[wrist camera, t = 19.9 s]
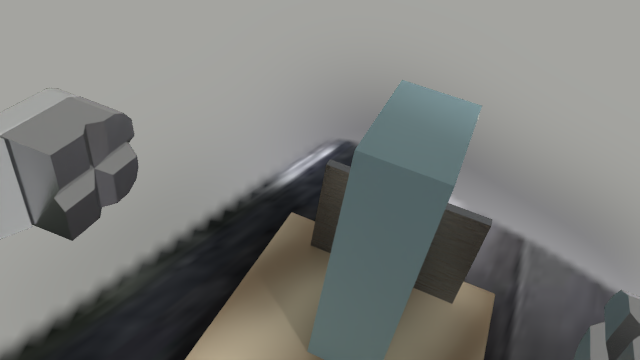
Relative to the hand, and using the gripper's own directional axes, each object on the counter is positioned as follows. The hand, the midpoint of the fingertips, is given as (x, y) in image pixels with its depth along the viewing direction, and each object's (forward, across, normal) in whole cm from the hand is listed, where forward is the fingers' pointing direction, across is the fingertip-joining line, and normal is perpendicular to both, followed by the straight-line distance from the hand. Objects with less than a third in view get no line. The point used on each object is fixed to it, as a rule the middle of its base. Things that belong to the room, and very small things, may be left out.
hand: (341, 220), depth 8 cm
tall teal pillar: (+14, +1, +20) cm, 24 cm away
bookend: (+19, +1, +20) cm, 27 cm away
